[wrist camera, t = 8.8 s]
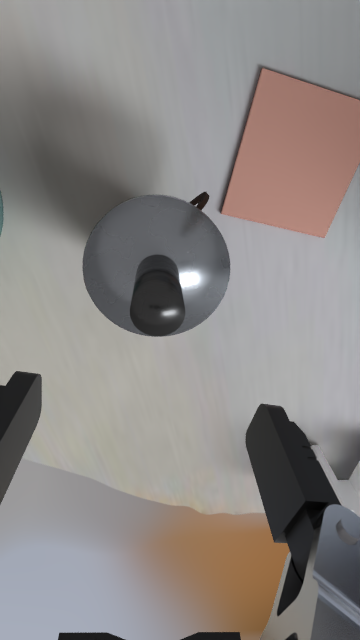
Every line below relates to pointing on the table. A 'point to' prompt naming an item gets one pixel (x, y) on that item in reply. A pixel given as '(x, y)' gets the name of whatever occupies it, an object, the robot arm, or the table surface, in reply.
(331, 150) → the mat
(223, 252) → the lid
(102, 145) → the table surface
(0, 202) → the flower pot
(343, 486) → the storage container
